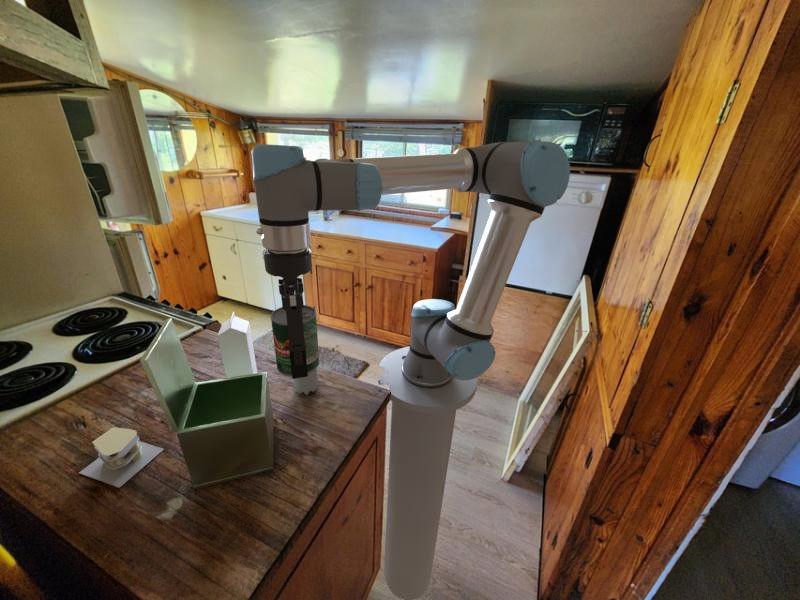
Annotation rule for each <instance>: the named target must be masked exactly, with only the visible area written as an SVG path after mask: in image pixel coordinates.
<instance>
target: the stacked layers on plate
mask: <svg viewBox="0 0 800 600" xmlns="http://www.w3.org/2000/svg"><path fill="white" fill-rule="evenodd" d="M91 443H92V445H94V449H95V450H96V452H97V453H98V454H97V456H98V457H97V459H96V460H94V461H92V462H91V463H90V464H88V465H87V466H86V467H84V468H83V469H81V470H80V471H79V472H78V474H81V475H83V476H86V477H88V478H91V479H94V480H97V481H100V482H102V483H105V484H108V485H110V486H112V487H116V488H121V487H122V486H123V485H125V484H126V483H127V482H129V480H130V479H132V478H133V477H134V476H135V475H136V474H137V473H138V472H140V471H141V470H142V469H143V468H144V467H145V466H146V465H148V464H149V463H150V462H151V461H152V460H154V459H155V458H156V457H157V456H158V455H160V453H162V452H163V451H164V450H165V448H163V447H161V446H157V445H154V444H150V443H147V442H143V441H141V440H140V437H139V435H138V431H137V430H136V429H131V428H123V427H116V426H113V427H111V428H110V429H108V430H107V431H106V432H104V433H103V434H102V435H100V436H98V437H97V438H96V439H94V440H93V441H92V442H91Z"/></svg>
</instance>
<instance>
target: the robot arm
mask: <svg viewBox="0 0 800 600" xmlns="http://www.w3.org/2000/svg"><path fill="white" fill-rule="evenodd" d="M251 165H252V166H251V167H252V179H253V187H254V192H255V199H256V207H257V214H258V222H259V228H256V234H257V235H261V244H262V247H263V248H264V251H263V262H264V268H265V272H266V273H267V274H269V276H273V277H280V278H279V279H278V280H277V281H278V291H279V294H280V298H281V307H283V309H284V310H286V317H287V327H288V336H289V346H286V347H285V351H286V350H289V353H290V362H291V371H292V377H291V379H292V380H293V379H296V378H302V377H308V372H307V360H306V345H305V339H304V328H303V318H302V308H303V307H304V305H305V304H304V292H305V291H304V290H305V289H304V283H303V278H302V277H300V276H302V275H303V276H304V275H307V274H308V273H310V272H311V271H312V269H313V260H312V259H313V258H312V250H311V248H310V247H311V245H312V239H311V224H310V217H309V212H313V211H314V212H319V211H357V212H361V211H365V210H367V211H368V210H375V209H376V208H377V207H378V206H379V205H380V202H381V199H382V196H385V195H397V194H409V193H419V192H420V193H421V192H431V191H440V190H441V191H442V190H443V191H444V190H454V191H455V192H457V193H466V192H467V193H469V192H470V193H477V194H482V195H483V194H484V195H488V196H489V197H488V200H487V203H488V205H489V208H490V210H491V211H490V214H489V218H488V220H487V223H486V226H485V228H484V231H483V234H482V236H481V239H480V242H479V245H478V247H477V251H476V253H475V256H474V259H473V261H472V263H471V267H470V269H469V272H468V275H467V278H466V281H465V283H464V285H463V288H462V292H461V295H460V297H459V300H458V303H457V306H455V304H454V303H452V302H451V301H449V300H445V299H437V298H430V299H429V298H428V299H423V300H419V301H417V302H416V303H415V304H413V306H412V310H411V315H410V317H411V319H410V334H409V335H410V336H409V337H410V339H409V346H410V349H409V351H408V353H407V355H406V356H403V357H402V359H405V360H404V362H403V364H402V374H403V376H404V378H405V379H406V380H407V381H408V382H410V383H411V384H413V385H415V386H418V387H422V388H428V389H433V388H440V387H443V386H445V385H447V384H448V383H449V382H450V381H451V380H452V377H454V378H456V379H458V380H463V381H466V380H471V379H474V378H477V379H478V377H479V376H481V375H483V374H485V373H486V372H487V371H488V370H489V369H490V368H491V366H492V365H493V363H494V361H495V359H496V350H495V346H494V345H493V343H492V342H491V340H492V337H493V335H494V332H495V329H494V327H493V325H492V323H491V322H492V319H493V318H494V314H495V312H496V310H497V307H498V304H499V302H500V299H501V298H502V294H503V292H504V289H505V287H506V285H507V283H508V280H509V278H510V275H511V272H512V270H513V267H514V265H515V262H516V260H517V258H518V255H519V253H520V250H521V247H522V246H523V243H524V240H525V238H526V236H527V233H528V230H529V228H530V226H531V223H532V222H533V221H536V220H538V219H540V218H542V215H543V213H544V211H545V208H546V207H550V206H552V205H554V204H556V203H557V202H558V200H559V201H560V199H561V198H562V197H563V196H564V194H565V193H566V191H567V187H568V185H569V182H570V177H571V164H570V162H569V157H568V154H567V152H566V150H565V149H564V148H563V147H562V146H561V145H559V144H558V143H556V142H554V141H542V140H540V139H538V140H532V141H531V140H529V141H499V142H493V143H488V144H483V145H478V146H470V147H459V148H456V150H455V151H454V152H453V153H452V152H451V153H433V154H431V153H430V154H412V155H411V154H409V155H391V156H372V157H371V156H370V157H353V158H332V159H329V158H317V159H315V160H311V159H307V157H306V154H305V150H304V148H303V147H302V146H300V145H299V146H298V145H286V144H285V145H284V144H267V143H266V144H265V143H259V144H256V145H255V146H254V147H253V148H252V149H251Z"/></svg>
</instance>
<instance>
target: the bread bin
mask: <svg viewBox="0 0 800 600" xmlns="http://www.w3.org/2000/svg"><path fill="white" fill-rule="evenodd" d="M274 420H275V419H274V413H273V406H272V400H271V393H270V386H269V380H268V372H267V371H263V372H257V373H256V374H249V375H243V376H236V377H230V378H226V377H224V378H218V379H217V378H216V379H210V380H205V381H198V382H195V384H194V387H193V390H192V393H191V396H190V399H189V401H188V404H187V407H186V410H185V413H184V416H183V419H182V422H181V425H180V428H179V430H178V431H176V435H177V439H178V442H179V445H180V448H181V452H182V455H183V458H184V461H185V464H186V468H187V471H188V474H189V477H190V481H191V483H192V487H193V489H194V490H197V489H201V488H207V487H210V486H213V485H217V484H222V483H226V482H230V481H234V480H239V479H241V478H247V477H250V476H254V475H257V474H263V473H267V472H272V471H274V443H275V442H274V438H275V437H274V436H275V435H274V433H275V429H274Z"/></svg>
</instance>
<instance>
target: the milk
mask: <svg viewBox="0 0 800 600" xmlns="http://www.w3.org/2000/svg"><path fill="white" fill-rule="evenodd" d="M216 336H217V342H218V346H219V351H220V357H221V361H222V365H223V371H224V375H225V378H230V377H236V376H243V375H249V374H256V373H258V369H257V362H256V357H255V355H256V354H255V351H254V350H255V348H254V343H253V338H252V337H253V336H252V331H251V325H250V321H249V320H246V319H244V318H241V317H238V316H236V314H235V311H234V310H233V311H232V314H231V316H230V318H229V319H227V320H226V321H224V322H222V323H221V326H220V328H219V331H218V333H217V335H216Z"/></svg>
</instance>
